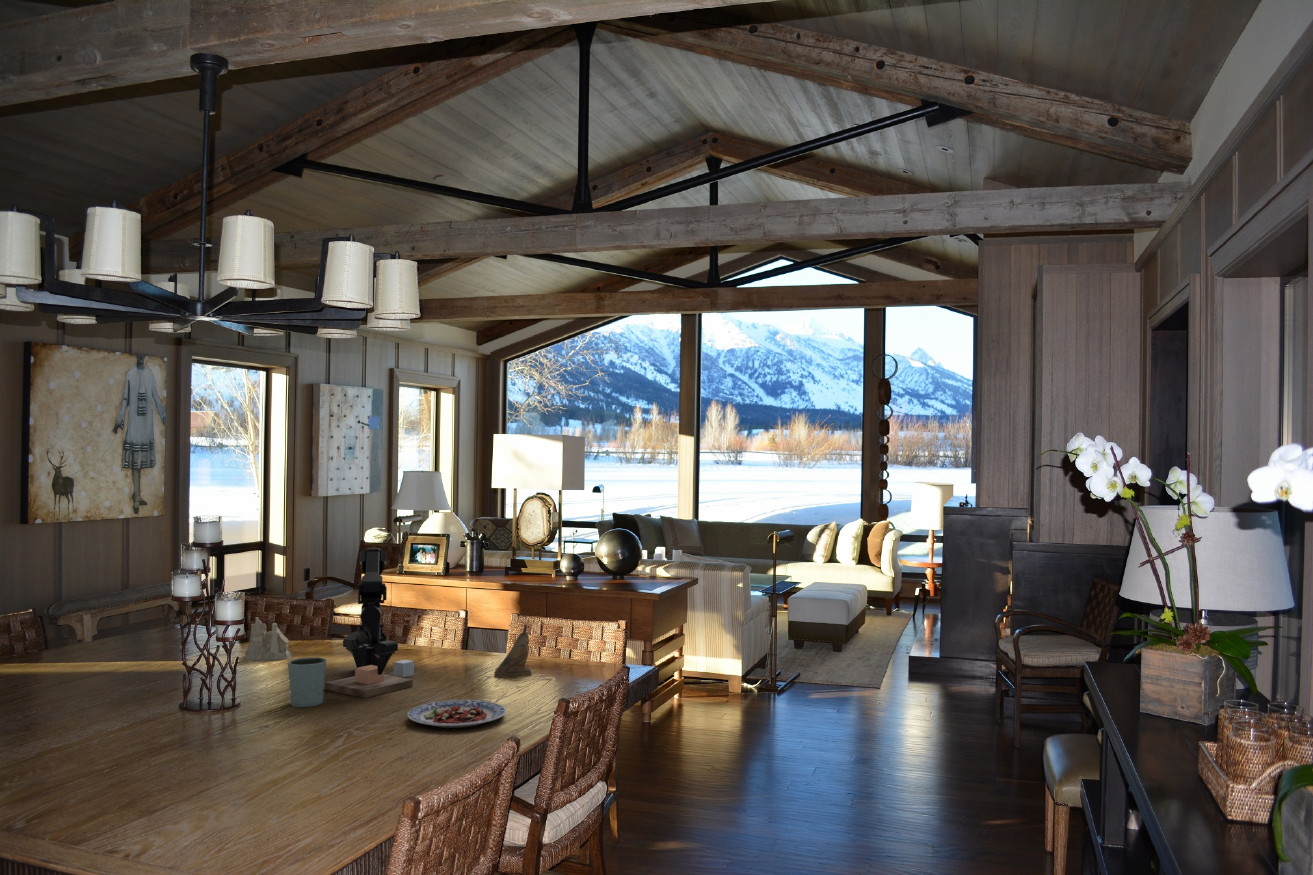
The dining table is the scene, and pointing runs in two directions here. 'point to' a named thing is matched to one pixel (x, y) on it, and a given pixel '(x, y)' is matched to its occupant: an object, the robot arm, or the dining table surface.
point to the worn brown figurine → (515, 658)
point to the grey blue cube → (403, 668)
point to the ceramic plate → (456, 713)
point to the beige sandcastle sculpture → (266, 644)
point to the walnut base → (368, 686)
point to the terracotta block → (368, 674)
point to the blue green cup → (307, 681)
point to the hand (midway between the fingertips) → (369, 672)
